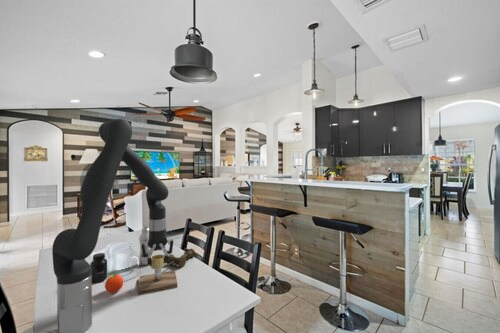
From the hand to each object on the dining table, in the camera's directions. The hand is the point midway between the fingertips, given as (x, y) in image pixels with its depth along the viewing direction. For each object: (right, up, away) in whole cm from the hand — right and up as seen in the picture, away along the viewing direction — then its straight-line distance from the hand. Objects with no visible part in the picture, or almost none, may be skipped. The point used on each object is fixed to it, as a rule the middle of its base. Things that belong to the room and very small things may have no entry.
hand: (157, 263), depth 107 cm
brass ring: (0, -1, 0) cm, 1 cm away
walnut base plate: (0, -9, 0) cm, 9 cm away
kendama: (+4, -9, +22) cm, 24 cm away
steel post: (0, -7, 0) cm, 7 cm away
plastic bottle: (-15, -9, +20) cm, 26 cm away
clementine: (-17, -9, -7) cm, 20 cm away
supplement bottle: (-29, -9, +3) cm, 31 cm away
